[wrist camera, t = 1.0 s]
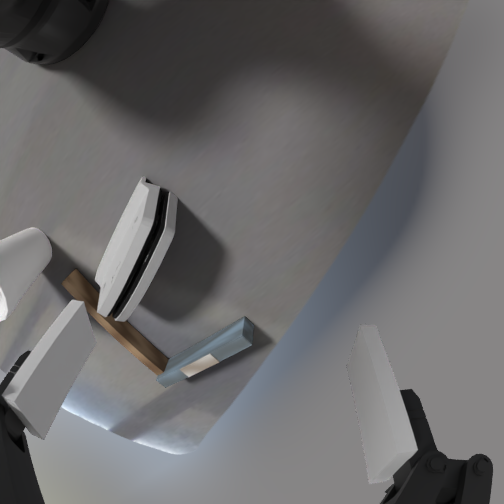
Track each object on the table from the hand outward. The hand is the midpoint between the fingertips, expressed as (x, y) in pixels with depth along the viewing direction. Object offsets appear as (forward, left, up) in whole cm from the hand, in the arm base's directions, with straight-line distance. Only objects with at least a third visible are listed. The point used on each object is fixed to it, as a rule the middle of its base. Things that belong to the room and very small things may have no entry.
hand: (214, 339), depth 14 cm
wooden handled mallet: (+3, -19, -23) cm, 30 cm away
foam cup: (-15, -29, -23) cm, 40 cm away
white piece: (-4, -14, -23) cm, 28 cm away
